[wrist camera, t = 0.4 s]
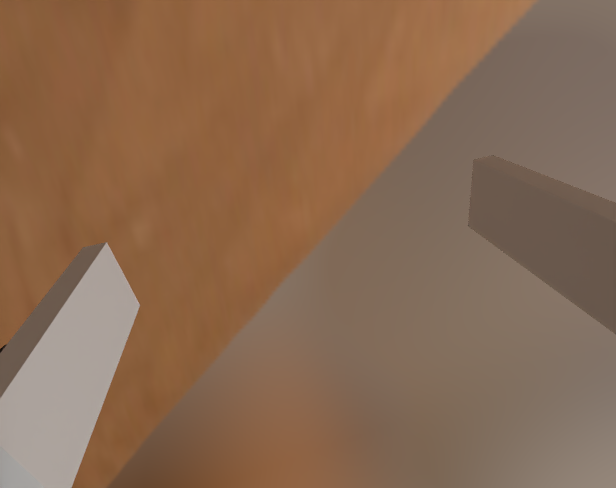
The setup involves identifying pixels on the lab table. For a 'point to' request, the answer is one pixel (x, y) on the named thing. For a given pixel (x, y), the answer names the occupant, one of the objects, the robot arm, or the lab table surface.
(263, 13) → the lab table surface
